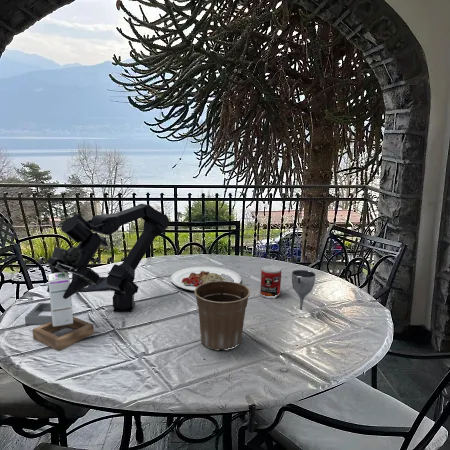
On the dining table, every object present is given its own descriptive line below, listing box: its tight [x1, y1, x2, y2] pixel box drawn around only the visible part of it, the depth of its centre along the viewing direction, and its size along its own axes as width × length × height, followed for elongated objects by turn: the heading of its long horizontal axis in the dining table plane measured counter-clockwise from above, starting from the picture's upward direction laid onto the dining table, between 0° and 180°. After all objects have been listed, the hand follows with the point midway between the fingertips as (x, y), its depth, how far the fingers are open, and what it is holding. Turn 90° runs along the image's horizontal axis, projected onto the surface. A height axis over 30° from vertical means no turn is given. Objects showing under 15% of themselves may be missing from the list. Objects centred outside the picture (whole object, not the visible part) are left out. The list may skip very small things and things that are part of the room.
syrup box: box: [47, 272, 74, 326], centre depth 115 cm, size 6×6×14 cm
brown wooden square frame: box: [32, 316, 95, 351], centre depth 116 cm, size 12×12×3 cm
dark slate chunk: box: [78, 276, 111, 292], centre depth 157 cm, size 15×22×5 cm
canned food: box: [259, 265, 282, 296], centre depth 152 cm, size 8×8×11 cm
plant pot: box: [194, 281, 251, 350], centre depth 115 cm, size 16×16×16 cm
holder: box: [24, 302, 52, 325], centre depth 128 cm, size 11×11×2 cm
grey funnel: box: [291, 269, 316, 310], centre depth 135 cm, size 8×8×15 cm
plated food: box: [170, 266, 242, 292], centre depth 166 cm, size 30×30×3 cm
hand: (56, 295), depth 113 cm, fingers closed on syrup box, 7 cm apart
